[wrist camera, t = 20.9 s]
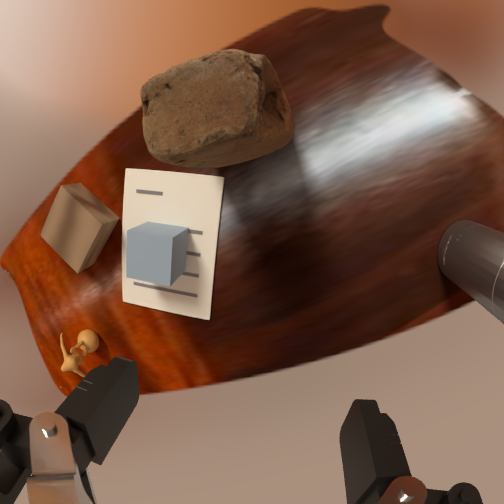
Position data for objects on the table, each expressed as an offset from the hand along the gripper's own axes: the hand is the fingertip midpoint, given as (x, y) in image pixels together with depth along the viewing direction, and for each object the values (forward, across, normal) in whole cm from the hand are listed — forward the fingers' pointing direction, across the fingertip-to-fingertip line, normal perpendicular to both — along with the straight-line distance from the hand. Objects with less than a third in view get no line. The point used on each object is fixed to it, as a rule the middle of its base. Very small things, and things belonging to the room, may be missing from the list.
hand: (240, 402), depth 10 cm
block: (+30, +5, -12) cm, 33 cm away
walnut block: (+30, +28, +3) cm, 41 cm away
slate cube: (+30, +14, +4) cm, 33 cm away
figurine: (+30, +27, +22) cm, 46 cm away
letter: (+30, +14, +4) cm, 33 cm away
